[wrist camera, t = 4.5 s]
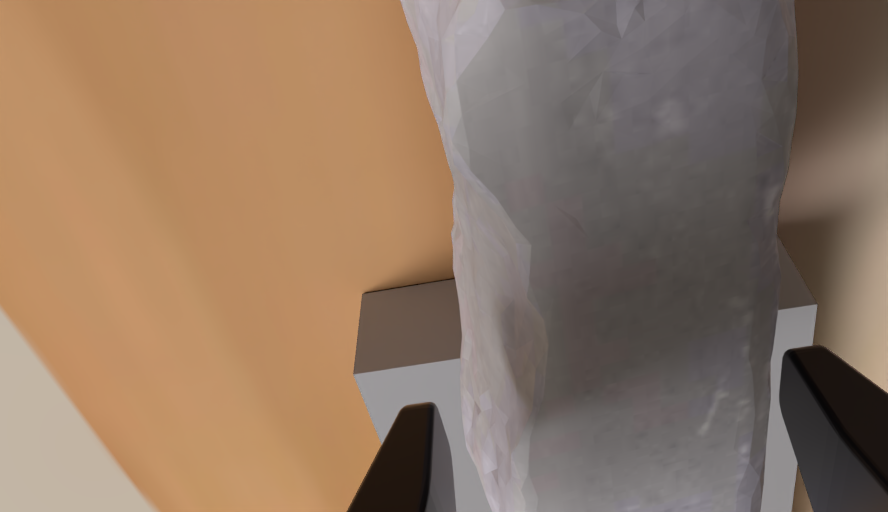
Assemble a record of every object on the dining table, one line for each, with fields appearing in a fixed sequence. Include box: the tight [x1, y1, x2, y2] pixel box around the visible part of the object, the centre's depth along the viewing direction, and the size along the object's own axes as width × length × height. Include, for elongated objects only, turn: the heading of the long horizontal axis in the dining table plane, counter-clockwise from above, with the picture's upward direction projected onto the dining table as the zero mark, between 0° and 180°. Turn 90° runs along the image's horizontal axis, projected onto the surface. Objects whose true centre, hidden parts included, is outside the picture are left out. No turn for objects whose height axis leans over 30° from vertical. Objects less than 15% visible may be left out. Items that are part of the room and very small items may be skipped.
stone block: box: [400, 0, 798, 512], centre depth 13 cm, size 12×5×10 cm, turn 10°
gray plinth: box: [353, 235, 817, 512], centre depth 24 cm, size 11×16×3 cm
